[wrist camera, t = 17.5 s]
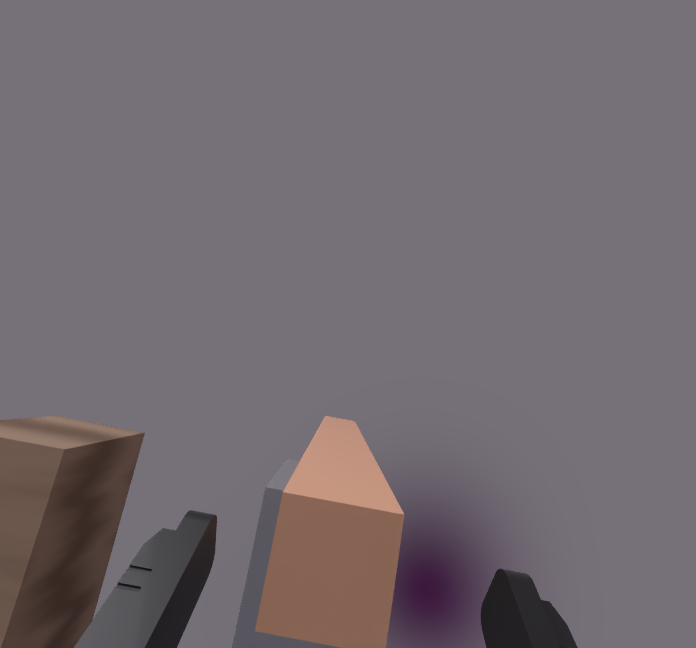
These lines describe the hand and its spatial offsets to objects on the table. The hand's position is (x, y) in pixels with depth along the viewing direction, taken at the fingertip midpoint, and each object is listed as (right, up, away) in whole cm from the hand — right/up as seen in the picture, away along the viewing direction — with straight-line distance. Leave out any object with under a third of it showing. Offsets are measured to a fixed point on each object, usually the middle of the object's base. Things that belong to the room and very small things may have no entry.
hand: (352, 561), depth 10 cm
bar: (-1, -3, +12) cm, 12 cm away
